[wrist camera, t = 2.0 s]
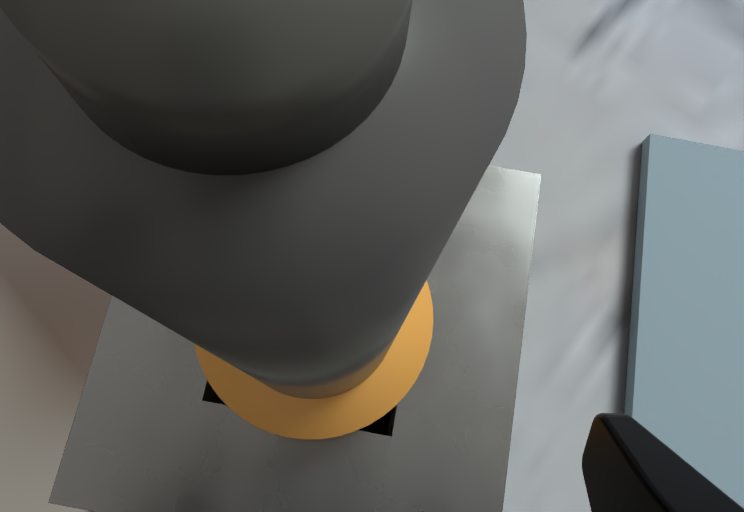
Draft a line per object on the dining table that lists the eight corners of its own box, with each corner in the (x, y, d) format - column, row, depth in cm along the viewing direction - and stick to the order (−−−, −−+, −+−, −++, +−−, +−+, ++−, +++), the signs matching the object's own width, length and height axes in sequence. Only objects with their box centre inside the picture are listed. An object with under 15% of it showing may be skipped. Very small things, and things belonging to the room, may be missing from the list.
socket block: (477, 571, 18) (493, 588, 16) (79, 495, 18) (48, 502, 16) (523, 197, 22) (541, 174, 20) (185, 134, 22) (170, 105, 20)
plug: (400, 455, 19) (726, 601, 3) (196, 417, 19) (-662, 335, 3) (432, 258, 21) (748, -364, 5) (245, 223, 21) (-110, -516, 5)
